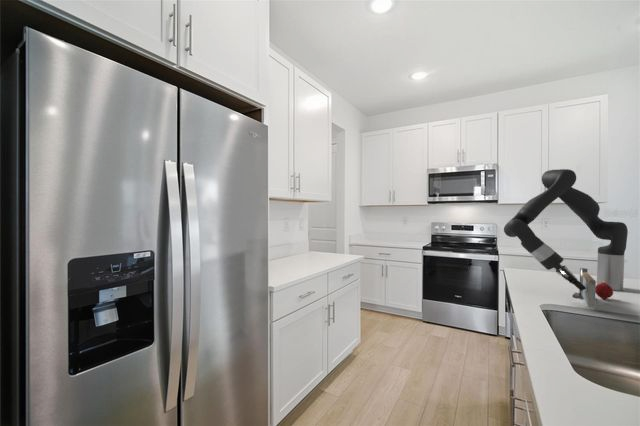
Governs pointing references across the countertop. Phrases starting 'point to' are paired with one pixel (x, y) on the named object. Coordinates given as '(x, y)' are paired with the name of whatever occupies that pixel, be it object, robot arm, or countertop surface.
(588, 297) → the wooden picture frame
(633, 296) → the countertop surface
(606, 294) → the onion
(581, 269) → the post
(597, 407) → the countertop surface
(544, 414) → the countertop surface
